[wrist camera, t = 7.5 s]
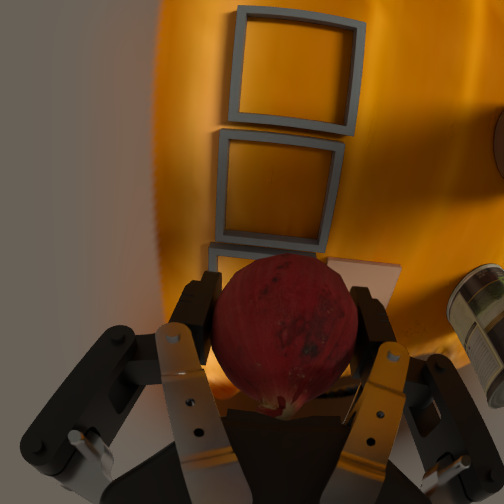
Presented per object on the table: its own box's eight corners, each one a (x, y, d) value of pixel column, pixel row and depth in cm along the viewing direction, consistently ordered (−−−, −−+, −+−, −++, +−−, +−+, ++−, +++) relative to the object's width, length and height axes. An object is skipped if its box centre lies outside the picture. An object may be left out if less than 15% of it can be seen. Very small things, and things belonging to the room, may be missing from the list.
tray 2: (342, 141, 23) (345, 144, 22) (322, 246, 28) (324, 252, 27) (222, 128, 23) (219, 129, 22) (217, 235, 28) (215, 241, 27)
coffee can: (478, 251, 27) (545, 334, 14) (515, 276, 28) (569, 346, 15) (430, 318, 32) (472, 410, 19) (474, 333, 33) (512, 408, 20)
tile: (399, 264, 28) (401, 267, 28) (377, 322, 32) (378, 326, 32) (327, 256, 28) (328, 260, 28) (312, 318, 32) (312, 322, 32)
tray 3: (315, 252, 28) (316, 259, 27) (298, 328, 33) (298, 336, 32) (211, 241, 28) (208, 247, 27) (210, 319, 33) (208, 326, 32)
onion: (270, 198, 13) (252, 327, 6) (366, 263, 14) (414, 400, 7) (208, 286, 16) (161, 418, 9) (296, 334, 17) (295, 463, 10)
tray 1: (362, 25, 18) (366, 22, 17) (350, 134, 23) (353, 136, 21) (239, 9, 18) (237, 5, 17) (230, 119, 23) (227, 121, 22)
